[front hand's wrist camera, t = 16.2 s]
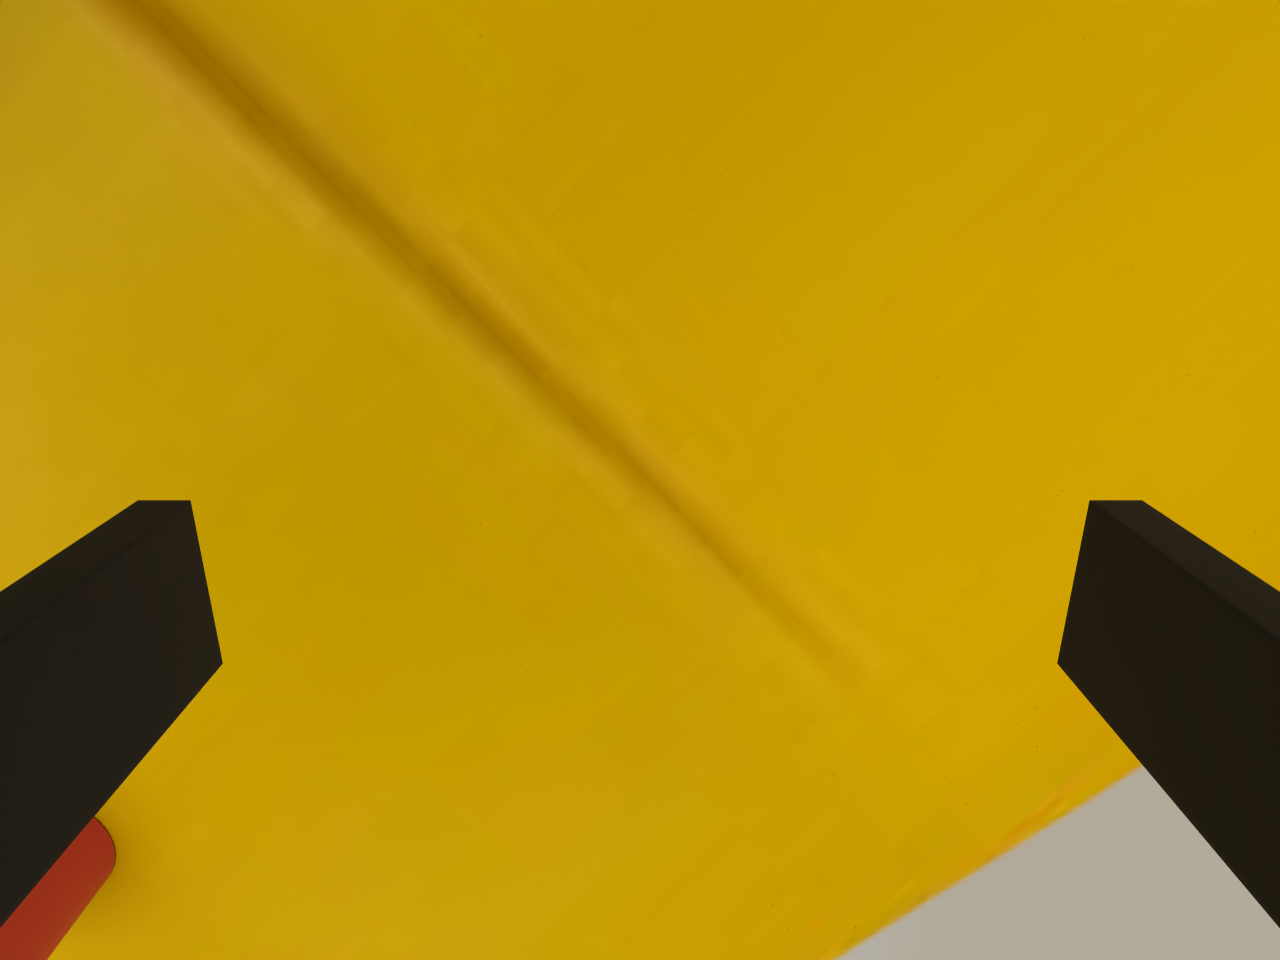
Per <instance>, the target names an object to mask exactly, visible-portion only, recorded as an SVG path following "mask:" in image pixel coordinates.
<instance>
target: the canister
mask: <svg viewBox="0 0 1280 960" xmlns="http://www.w3.org/2000/svg"><path fill="white" fill-rule="evenodd" d="M114 864H115V848H114V845H113V842H112V840H111V837H110V835H109V834H108V832H107V831H106V829H105V828H104V827H103V826H102V825H101V824H100V823H99V822H98V821H97V820H96V819H95V818H94V817H93V818H92V819H91V821H90V822H89V823H88V824H87V825H86V827H85V828H84V829H83V830H82V831H81V833H80V834H79V835H78V836H77V837H76V838H75V840H74V841H73V842H72V843H71V844H70V846H69V847H68V848H67V849H66V850H65V852H64V853H63V854H62V855H61V856H60V858H59V859H58V860H57V861H56V862H55V863H54V865H53V866H52V867H51V868H50V869H49V871H48V872H47V873H46V874H45V875H44V877H43V878H42V879H41V880H40V881H39V883H38V884H37V885H36V886H35V887H34V888H33V890H32V891H31V892H30V893H29V894H28V896H27V897H26V898H25V899H24V900H23V902H22V903H21V904H20V905H19V906H18V907H17V909H16V910H15V911H14V912H13V913H12V915H11V916H10V917H9V918H8V919H7V921H6V922H5V923H4V924H3V925H2V927H1V928H0V960H47V959H48V958H49V956H50V955H51V954H52V952H53V951H54V950H55V948H56V947H57V945H58V944H59V943H60V941H61V940H62V939H63V937H64V936H65V935H66V933H67V932H68V931H69V929H70V928H71V927H72V925H73V924H74V923H75V921H76V920H77V919H78V917H79V916H80V914H81V913H82V912H83V910H84V909H85V908H86V906H87V905H88V904H89V902H90V901H91V900H92V898H93V897H94V896H95V894H96V893H97V892H98V890H99V889H100V888H101V886H102V885H103V883H104V882H105V881H106V879H107V878H108V877H109V875H110V874H111V872H112V870H113V868H114Z"/></svg>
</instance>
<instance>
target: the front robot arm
mask: <svg viewBox="0 0 1280 960" xmlns="http://www.w3.org/2000/svg"><path fill="white" fill-rule="evenodd" d="M222 664H223V662H222V657H221V652H220V647H219V642H218V637H217V632H216V627H215V622H214V617H213V612H212V607H211V602H210V597H209V592H208V587H207V582H206V577H205V572H204V567H203V562H202V556H201V551H200V546H199V541H198V536H197V531H196V526H195V521H194V516H193V511H192V506H191V501H190V500H138V501H136V502H135V503H133V504H132V505H130V506H129V507H127V508H126V509H124V510H123V511H121V512H120V513H118V514H117V515H115V516H114V517H112V518H111V519H109V520H108V521H106V522H105V523H103V524H102V525H100V526H99V527H97V528H96V529H94V530H93V531H91V532H90V533H88V534H87V535H85V536H84V537H82V538H81V539H79V540H78V541H76V542H75V543H73V544H72V545H70V546H69V547H67V548H66V549H64V550H63V551H61V552H60V553H58V554H57V555H55V556H54V557H52V558H51V559H49V560H47V561H46V562H44V563H43V564H41V565H40V566H38V567H37V568H35V569H34V570H32V571H31V572H29V573H28V574H26V575H25V576H23V577H22V578H20V579H19V580H17V581H16V582H14V583H13V584H11V585H10V586H8V587H7V588H5V589H4V590H2V591H1V592H0V928H1V927H2V925H3V924H4V923H5V922H6V921H7V919H8V918H9V917H10V916H11V915H12V913H13V912H14V911H15V910H16V909H17V907H18V906H19V905H20V904H21V903H22V902H23V900H24V899H25V898H26V897H27V896H28V894H29V893H30V892H31V891H32V890H33V888H34V887H35V886H36V885H37V884H38V883H39V881H40V880H41V879H42V878H43V877H44V875H45V874H46V873H47V872H48V871H49V869H50V868H51V867H52V866H53V865H54V863H55V862H56V861H57V860H58V859H59V858H60V856H61V855H62V854H63V853H64V852H65V850H66V849H67V848H68V847H69V846H70V844H71V843H72V842H73V841H74V840H75V838H76V837H77V836H78V835H79V834H80V833H81V831H82V830H83V829H84V828H85V827H86V825H87V824H88V823H89V822H90V821H91V819H92V818H93V817H94V816H95V815H96V814H97V812H98V811H99V810H100V809H101V808H102V806H103V805H104V804H105V803H106V802H107V800H108V799H109V798H110V797H111V796H112V794H113V793H114V792H115V791H116V790H117V789H118V787H119V786H120V785H121V784H122V783H123V781H124V780H125V779H126V778H127V777H128V775H129V774H130V773H131V772H132V771H133V770H134V768H135V767H136V766H137V765H138V764H139V762H140V761H141V760H142V759H143V758H144V756H145V755H146V754H147V753H148V752H149V750H150V749H151V748H152V747H153V746H154V745H155V743H156V742H157V741H158V740H159V739H160V737H161V736H162V735H163V734H164V733H165V731H166V730H167V729H168V728H169V727H170V725H171V724H172V723H173V722H174V721H175V720H176V718H177V717H178V716H179V715H180V714H181V712H182V711H183V710H184V709H185V708H186V706H187V705H188V704H189V703H190V702H191V701H192V699H193V698H194V697H195V696H196V695H197V693H198V692H199V691H200V690H201V689H202V687H203V686H204V685H205V684H206V683H207V681H208V680H209V679H210V678H211V677H212V676H213V674H214V673H215V672H216V671H217V670H218V668H219V667H220V666H221V665H222ZM1057 664H1058V665H1059V666H1060V667H1061V668H1062V670H1063V671H1064V672H1065V673H1066V674H1067V676H1068V677H1069V678H1070V679H1071V680H1072V681H1073V683H1074V684H1075V685H1076V686H1077V687H1078V689H1079V690H1080V691H1081V692H1082V693H1083V695H1084V696H1085V697H1086V698H1087V699H1088V701H1089V702H1090V703H1091V704H1092V705H1093V706H1094V708H1095V709H1096V710H1097V711H1098V712H1099V714H1100V715H1101V716H1102V717H1103V718H1104V720H1105V721H1106V722H1107V723H1108V724H1109V726H1110V727H1111V728H1112V729H1113V730H1114V731H1115V733H1116V734H1117V735H1118V736H1119V737H1120V739H1121V740H1122V741H1123V742H1124V743H1125V745H1126V746H1127V747H1128V748H1129V749H1130V750H1131V752H1132V753H1133V754H1134V755H1135V756H1136V758H1137V759H1138V760H1139V761H1140V762H1141V764H1142V765H1143V766H1144V767H1145V768H1146V769H1147V771H1148V772H1149V773H1150V774H1151V775H1152V777H1153V778H1154V779H1155V780H1156V781H1157V783H1158V784H1159V785H1160V786H1161V787H1162V788H1163V790H1164V791H1165V792H1166V793H1167V794H1168V796H1169V797H1170V798H1171V799H1172V800H1173V802H1174V803H1175V804H1176V805H1177V806H1178V808H1179V809H1180V810H1181V811H1182V812H1183V814H1184V815H1185V816H1186V817H1187V818H1188V819H1189V821H1190V822H1191V823H1192V824H1193V825H1194V827H1195V828H1196V829H1197V830H1198V831H1199V833H1200V834H1201V835H1202V836H1203V837H1204V838H1205V840H1206V841H1207V842H1208V843H1209V844H1210V846H1211V847H1212V848H1213V849H1214V850H1215V852H1216V853H1217V854H1218V855H1219V856H1220V858H1221V859H1222V860H1223V861H1224V862H1225V863H1226V865H1227V866H1228V867H1229V868H1230V869H1231V871H1232V872H1233V873H1234V874H1235V875H1236V877H1237V878H1238V879H1239V880H1240V881H1241V883H1242V884H1243V885H1244V886H1245V887H1246V888H1247V890H1248V891H1249V892H1250V893H1251V894H1252V896H1253V897H1254V898H1255V899H1256V900H1257V901H1258V903H1259V904H1260V905H1261V906H1262V907H1263V909H1264V910H1265V911H1266V912H1267V913H1268V915H1269V916H1270V917H1271V918H1272V919H1273V921H1274V922H1275V923H1276V924H1277V925H1278V927H1279V928H1280V592H1279V591H1278V590H1276V589H1275V588H1273V587H1272V586H1270V585H1269V584H1267V583H1266V582H1264V581H1263V580H1261V579H1260V578H1258V577H1257V576H1255V575H1254V574H1252V573H1251V572H1249V571H1248V570H1246V569H1245V568H1243V567H1242V566H1240V565H1239V564H1237V563H1236V562H1234V561H1233V560H1231V559H1229V558H1228V557H1226V556H1225V555H1223V554H1222V553H1220V552H1219V551H1217V550H1216V549H1214V548H1213V547H1211V546H1210V545H1208V544H1207V543H1205V542H1204V541H1202V540H1201V539H1199V538H1198V537H1196V536H1195V535H1193V534H1192V533H1190V532H1189V531H1187V530H1186V529H1184V528H1183V527H1181V526H1180V525H1178V524H1177V523H1175V522H1174V521H1172V520H1171V519H1169V518H1168V517H1166V516H1165V515H1163V514H1162V513H1160V512H1159V511H1157V510H1156V509H1154V508H1153V507H1151V506H1150V505H1148V504H1147V503H1145V502H1144V501H1142V500H1090V501H1089V506H1088V511H1087V516H1086V521H1085V526H1084V531H1083V536H1082V541H1081V546H1080V551H1079V556H1078V562H1077V567H1076V572H1075V577H1074V582H1073V587H1072V592H1071V597H1070V602H1069V607H1068V612H1067V617H1066V622H1065V627H1064V632H1063V637H1062V642H1061V647H1060V652H1059V657H1058V662H1057Z"/></svg>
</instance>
